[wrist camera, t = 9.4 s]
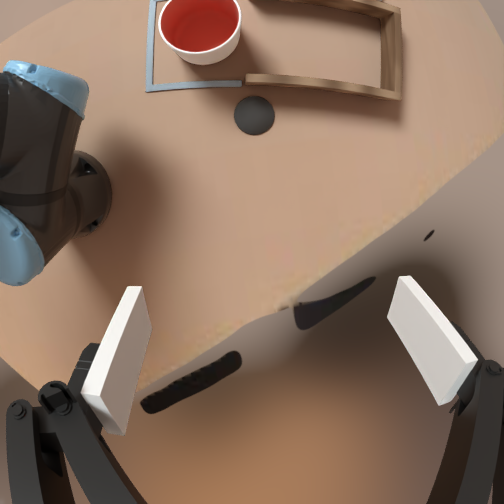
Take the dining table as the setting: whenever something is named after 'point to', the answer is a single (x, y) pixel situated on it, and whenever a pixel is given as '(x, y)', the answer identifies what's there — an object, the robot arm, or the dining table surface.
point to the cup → (201, 29)
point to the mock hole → (254, 115)
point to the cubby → (391, 55)
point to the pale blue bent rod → (173, 85)
